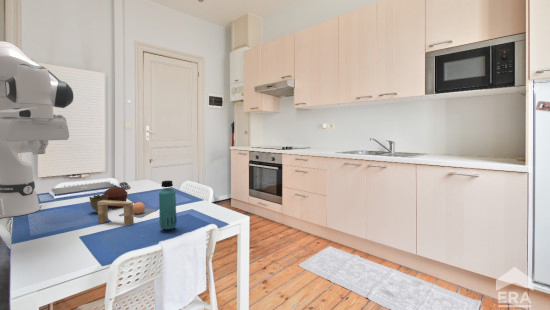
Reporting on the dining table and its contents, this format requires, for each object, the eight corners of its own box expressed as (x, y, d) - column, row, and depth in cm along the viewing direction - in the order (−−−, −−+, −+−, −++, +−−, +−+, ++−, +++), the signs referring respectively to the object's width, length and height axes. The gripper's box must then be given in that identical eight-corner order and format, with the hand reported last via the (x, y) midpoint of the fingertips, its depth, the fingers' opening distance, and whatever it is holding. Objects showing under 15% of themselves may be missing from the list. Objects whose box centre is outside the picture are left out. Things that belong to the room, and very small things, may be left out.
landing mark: (118, 215, 122) (118, 215, 122) (136, 208, 134) (136, 207, 134) (141, 217, 120) (141, 217, 120) (157, 209, 132) (157, 209, 132)
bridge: (128, 225, 110) (127, 203, 109) (98, 222, 112) (97, 201, 112) (133, 222, 113) (132, 201, 112) (104, 220, 115) (103, 199, 115)
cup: (99, 215, 122) (98, 198, 121) (86, 214, 123) (85, 197, 122) (112, 210, 129) (111, 194, 128) (99, 209, 130) (99, 193, 130)
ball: (140, 205, 129) (135, 215, 126) (132, 200, 125) (127, 210, 122) (149, 205, 128) (144, 216, 125) (142, 200, 124) (137, 211, 120)
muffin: (104, 204, 139) (104, 186, 138) (128, 202, 144) (128, 184, 143) (100, 211, 128) (100, 191, 127) (126, 208, 133) (126, 189, 132)
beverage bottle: (166, 234, 101) (165, 183, 99) (155, 230, 105) (154, 181, 103) (180, 229, 107) (179, 180, 105) (169, 225, 110) (168, 178, 108)
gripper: (58, 115, 100) (60, 151, 101) (-8, 111, 80) (-4, 156, 81) (72, 115, 99) (74, 152, 100) (9, 111, 79) (12, 157, 80)
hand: (39, 154), depth 90 cm, fingers closed
